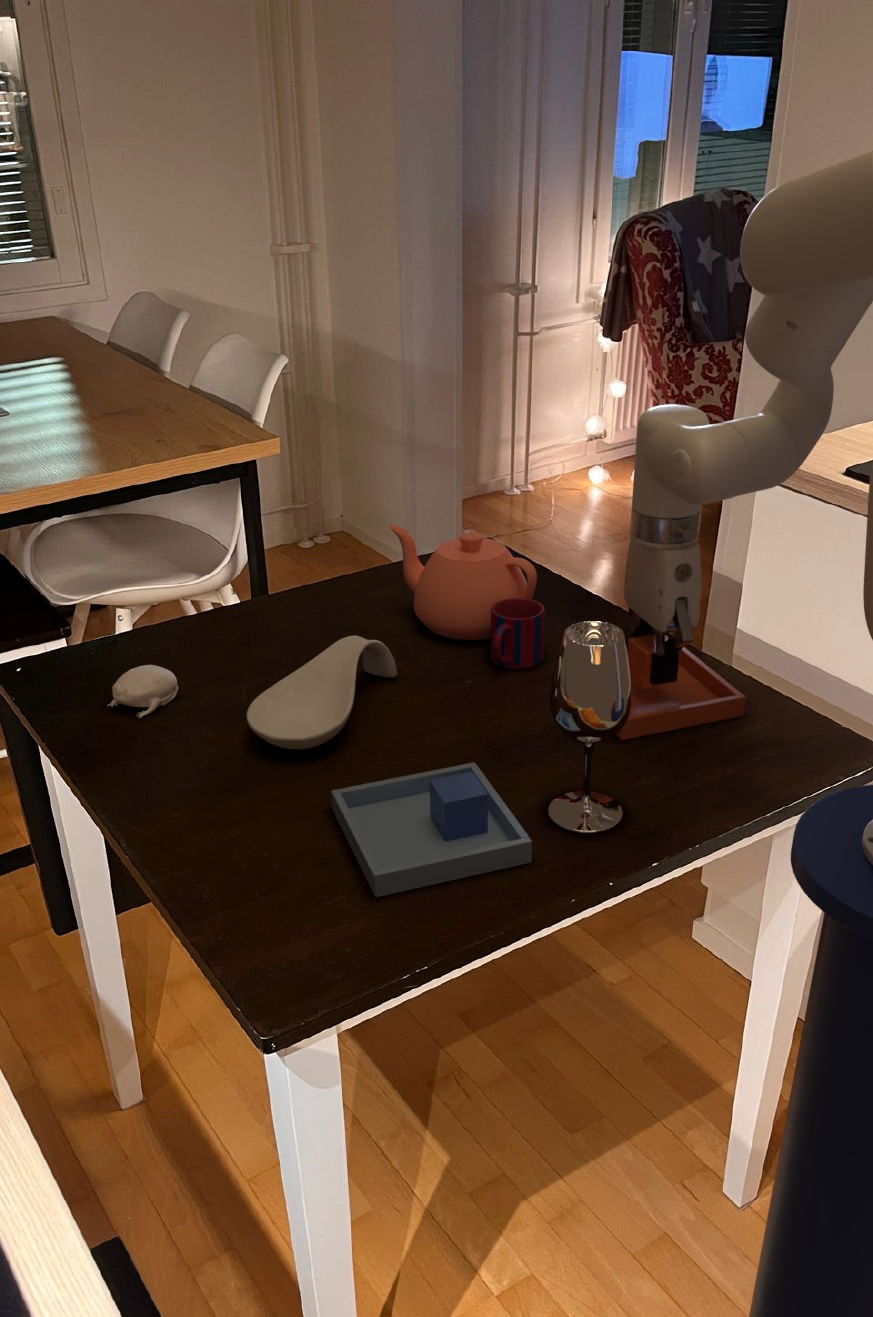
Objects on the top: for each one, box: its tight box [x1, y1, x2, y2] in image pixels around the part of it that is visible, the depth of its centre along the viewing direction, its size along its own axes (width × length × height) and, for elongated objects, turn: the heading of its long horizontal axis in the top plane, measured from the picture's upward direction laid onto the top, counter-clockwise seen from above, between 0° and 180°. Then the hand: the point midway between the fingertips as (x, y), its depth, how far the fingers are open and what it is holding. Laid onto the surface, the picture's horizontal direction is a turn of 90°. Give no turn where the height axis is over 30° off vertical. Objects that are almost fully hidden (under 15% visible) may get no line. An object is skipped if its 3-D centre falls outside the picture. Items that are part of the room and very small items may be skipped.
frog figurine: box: [106, 664, 179, 719], centre depth 143 cm, size 8×7×4 cm
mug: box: [490, 598, 546, 670], centre depth 148 cm, size 7×10×7 cm
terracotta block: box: [627, 633, 681, 689], centre depth 139 cm, size 4×4×4 cm
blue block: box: [429, 772, 488, 841], centre depth 117 cm, size 4×4×4 cm
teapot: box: [389, 524, 538, 641], centre depth 158 cm, size 22×16×12 cm
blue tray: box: [330, 762, 533, 898], centre depth 117 cm, size 16×16×2 cm
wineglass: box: [547, 620, 632, 834], centre depth 115 cm, size 8×8×20 cm
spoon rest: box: [246, 635, 398, 750], centre depth 137 cm, size 24×12×7 cm, turn 152°
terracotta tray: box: [615, 646, 747, 741], centre depth 140 cm, size 16×16×2 cm
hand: (652, 671), depth 139 cm, fingers closed on terracotta block, 4 cm apart
